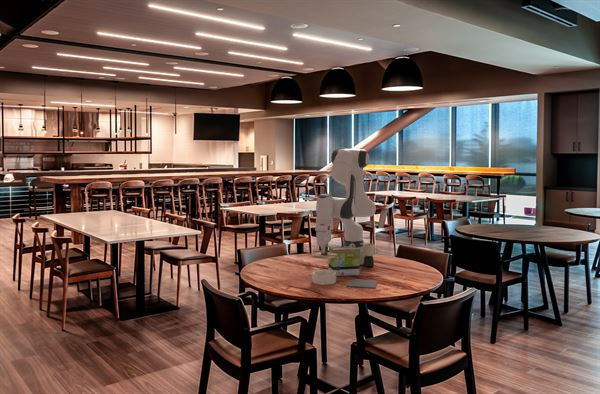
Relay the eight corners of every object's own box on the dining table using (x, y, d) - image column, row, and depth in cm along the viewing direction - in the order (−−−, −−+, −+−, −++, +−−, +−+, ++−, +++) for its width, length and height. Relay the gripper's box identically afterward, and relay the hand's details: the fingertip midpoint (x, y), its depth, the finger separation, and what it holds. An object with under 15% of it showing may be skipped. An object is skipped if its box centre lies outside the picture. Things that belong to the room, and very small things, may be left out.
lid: (314, 253, 271) (314, 244, 271) (338, 254, 268) (339, 245, 267) (309, 257, 258) (309, 248, 258) (334, 259, 255) (334, 249, 255)
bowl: (315, 278, 271) (315, 269, 271) (337, 280, 269) (337, 270, 268) (310, 284, 260) (310, 274, 259) (333, 285, 257) (333, 275, 257)
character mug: (378, 265, 304) (378, 243, 303) (377, 268, 297) (378, 246, 296) (359, 264, 306) (360, 243, 305) (358, 267, 299) (359, 245, 298)
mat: (351, 280, 268) (351, 278, 268) (378, 281, 264) (378, 280, 264) (346, 286, 254) (347, 285, 254) (375, 288, 251) (375, 287, 251)
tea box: (334, 276, 275) (334, 249, 274) (328, 272, 285) (328, 246, 283) (360, 275, 279) (360, 248, 278) (353, 271, 289) (353, 245, 287)
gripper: (322, 222, 273) (322, 248, 274) (314, 227, 253) (314, 255, 254) (334, 223, 271) (334, 248, 272) (326, 228, 251) (326, 256, 252)
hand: (324, 252), depth 263 cm, fingers closed on lid, 3 cm apart
